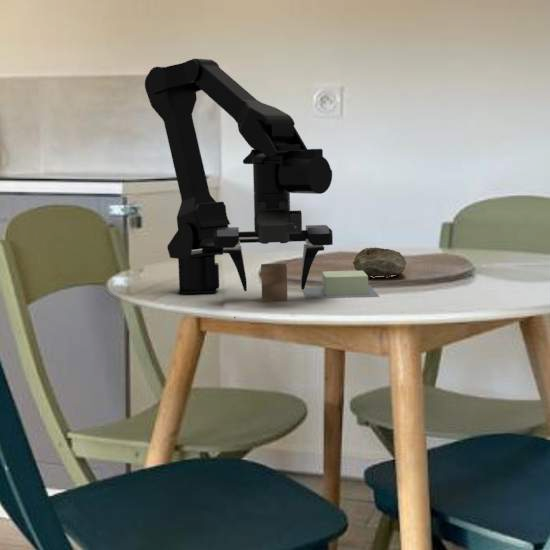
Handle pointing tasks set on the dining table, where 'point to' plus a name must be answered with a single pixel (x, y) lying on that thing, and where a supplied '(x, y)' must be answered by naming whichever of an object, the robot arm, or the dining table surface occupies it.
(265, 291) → the walnut block
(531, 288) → the dining table surface
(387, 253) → the stone
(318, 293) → the build mat
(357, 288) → the base block
